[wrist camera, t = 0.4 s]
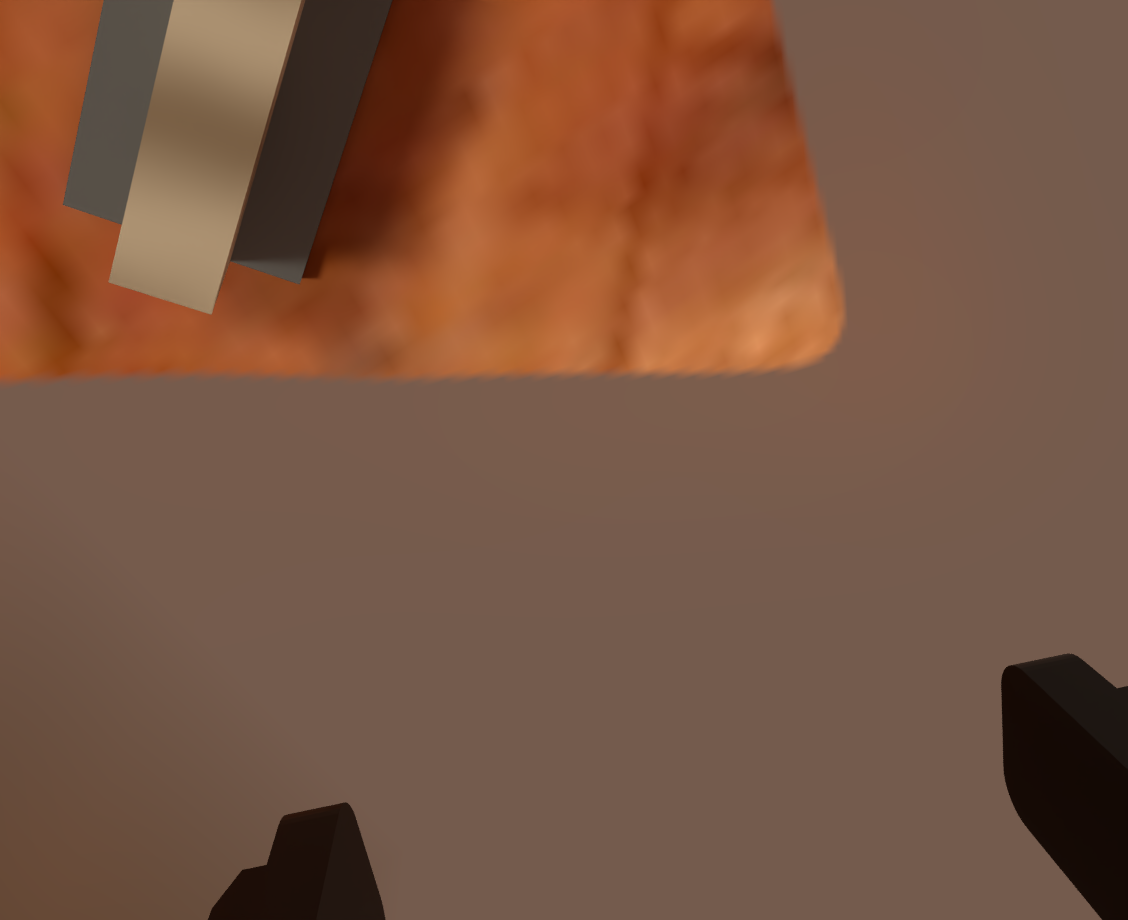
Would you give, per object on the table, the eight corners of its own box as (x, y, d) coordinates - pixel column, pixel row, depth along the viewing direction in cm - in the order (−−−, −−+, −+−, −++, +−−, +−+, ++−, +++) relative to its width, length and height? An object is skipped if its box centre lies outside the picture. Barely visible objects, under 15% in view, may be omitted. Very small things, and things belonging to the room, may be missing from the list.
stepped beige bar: (229, 261, 33) (211, 314, 29) (141, 231, 32) (108, 282, 28) (363, -204, 27) (364, -221, 23) (259, -261, 26) (240, -290, 21)
